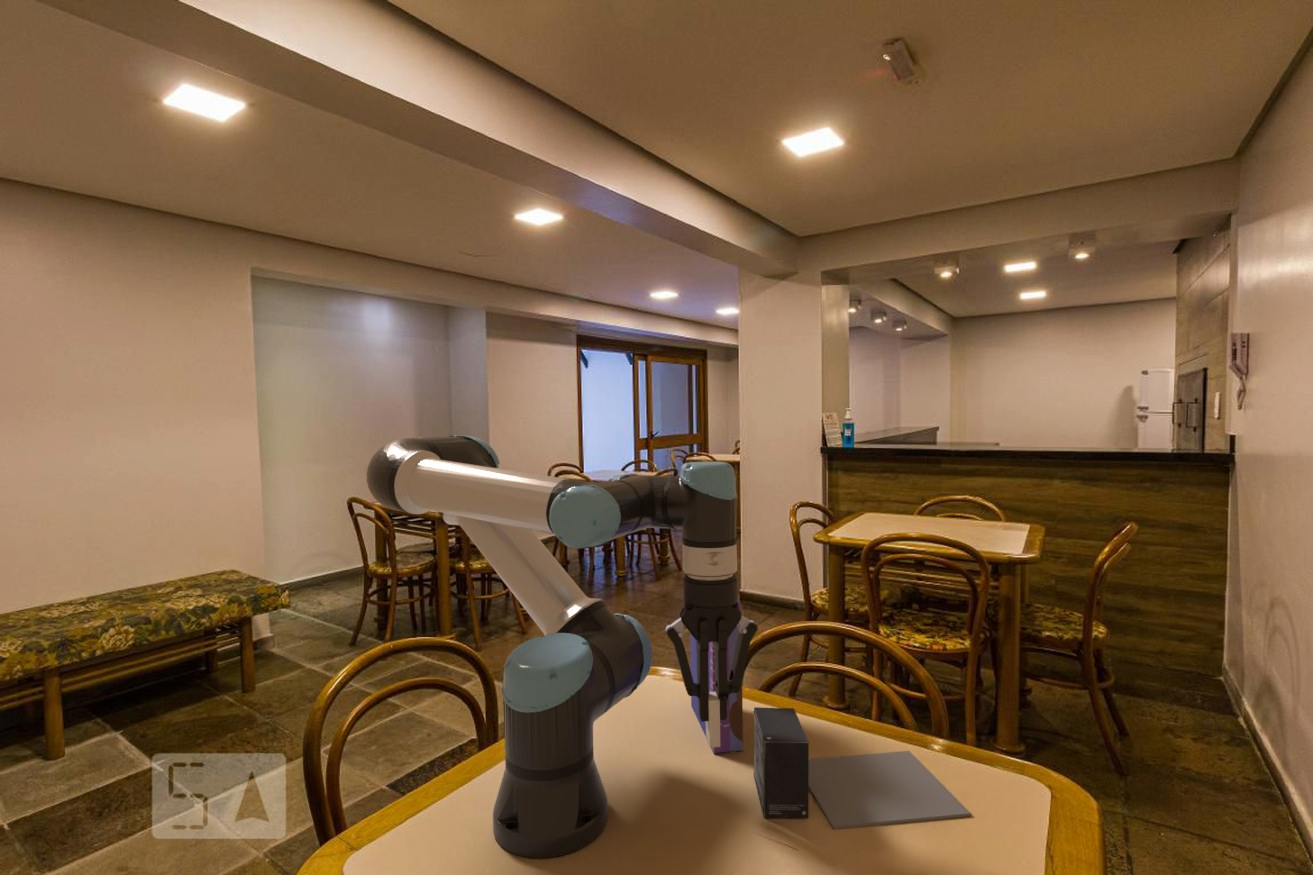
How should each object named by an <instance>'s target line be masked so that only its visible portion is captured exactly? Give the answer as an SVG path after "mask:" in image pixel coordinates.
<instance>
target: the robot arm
mask: <svg viewBox="0 0 1313 875" xmlns="http://www.w3.org/2000/svg"><path fill="white" fill-rule="evenodd" d="M500 463H501V462H500V460H499V458H498V455H497V454H496V451H495V450H494V448H492V447H491V445H490V444H489V443H487V442H486V441H485V440H483V439H481V438H478V437H476V436H469V435H463V434H462V435H461V434H453V435H449V436H437V437H435V436H434V437H433V436H432V437H405V438H398V439H395V440H392V441H390V442H388V443H386V444H384V445H382V446H381V447H380V448H379V449H378V450H376V452H375V453H374V455H373V456H372V457H371V459H370V461H369V463H368V466H367V468H366V469H367V470H366V483H367V488H368V490H369V492H370V494H371V495H372V497H373V498H374V499H375V501H377V502H378V503H379V504H380V505H382V506H383V507H385V508H387V509H390V510H393V511H398V512H402V513H407V514H408V513H409V514H413V515H421V514H425V513H426V514H427V513H428V512H429V511H432V512H437V513H438V515H439V516H440V517H441V518H442V520H443V521H444V522H445V523H446V524H447V525H451V526H459V527H460V528H461V529H462V530H463V531H464V532H465V534H466V535H467V537H469V540H471V541H472V543H473V544H474V545H475V547H476V548H477V549H478V551H479V552H480V553H481V555H482V556H483V557H484V558H485V559H486V561H487V562H488V564H489V565H490V566H491V567H492V568H493V570H494V571H495V572H496V574H497V575H498V577H499V578H500V579H501V581H502V582H503V583H504V584H505V585H506V586H507V588H508V589H509V591H510V592H511V593H512V594H513V596H514V597H515V598H516V600H517V601H518V602H519V604H520V605H521V606H522V607H523V608H524V610H525V611H526V613H527V614H528V615H529V616H530V618H531V619H532V620H533V622H534V623H535V624H536V625H537V627H538V628H539V629H540V630H541V631H542V632H541V633H543V635H544V636H536V637H532V638H530V639H528V640H526V641H524V642H522V643H521V644H519V645H518V646H517V647H515V648H514V649H513V650H512V651H511V652H510V654H509V655H508V656H507V658H506V660H505V663H504V667H503V680H502V684H501V685H502V686H501V689H502V690H501V692H502V693H501V694H502V697H503V699H502V701H503V703H502V704H503V725H504V726H503V728H504V729H503V730H504V754H505V759H504V760H505V762H504V763H505V766H504V767H505V769H504V771H503V775H502V779H501V782H500V786H499V789H498V792H497V796H496V799H495V802H494V806H493V810H492V828H493V829H492V831H493V835H494V838H495V840H496V841H497V843H498V844H499V845H500V846H501V847H502V848H503V849H505V850H506V851H508V852H509V853H511V854H514V855H517V856H520V857H524V858H525V857H526V858H535V859H537V858H538V859H540V858H541V859H543V858H544V859H547V858H554V857H560V856H563V855H567V854H570V853H573V852H576V851H578V850H580V849H582V848H584V847H586V846H587V845H589V844H590V843H592V842H593V841H594V840H596V839H597V837H599V836H600V835H601V833H602V832H603V830H604V829H605V827H606V825H607V822H608V818H609V814H608V813H609V812H608V810H609V809H608V807H609V806H608V805H609V804H608V796H607V792H606V789H605V787H604V784H603V783H604V782H603V780H602V778H601V776H600V773H599V769H598V767H597V764H596V762H595V758H594V723H595V722H596V721H597V720H598V719H599V718H601V717H602V716H603V715H605V714H606V713H607V712H608V711H609V710H611V708H613V707H614V706H615V705H617V704H618V703H619V702H621V701H622V700H624V699H625V698H628V697H630V696H631V695H632V694H633V693H634V691H635V690H637V689H638V688H639V686H641V684H642V683H643V682H644V681H645V680H646V678H647V676H648V675H649V672H650V669H651V667H652V666H651V665H652V652H653V650H652V649H653V648H652V645H651V644H652V643H651V640H650V638H649V635H648V633H647V631H646V630H645V628H644V627H643V625H642V624H641V623H640V622H639V621H638V620H637V619H636V618H635V617H633V616H632V615H631V616H630V615H628V614H622V613H617V612H616V613H614V612H613V611H612V609H610V607H609V606H608V605H607V604H606V602H605V601H604V600H603V599H602V598H594V597H593V598H591V597H588V596H587V595H586V594H585V592H583V590H582V589H581V588H580V587H579V586H578V585H577V583H576V582H575V581H574V580H573V578H572V577H571V576H570V575H569V573H568V572H567V571H566V570H565V568H563V566H562V565H561V564H560V562H559V561H558V560H557V559H556V558H555V556H554V555H553V554H552V553H551V551H550V550H549V549H548V548H547V547H546V546H545V544H544V543H543V542H542V541H541V539H540V538H539V537H538V536H537V535H536V533H535V532H539V533H543V534H547V535H548V534H550V535H553V536H555V537H556V538H557V540H559V541H560V542H561V543H562V544H564V546H566V547H568V548H572V549H584V548H595V547H598V546H601V545H603V544H605V543H607V542H610V541H612V540H614V539H618V538H621V537H623V536H627V535H630V534H632V533H636V532H639V531H641V530H644V529H645V530H646V529H652V528H653V529H669V530H670V529H671V530H681V538H682V539H681V540H682V543H681V544H682V571H683V572H684V573H685V575H684V576H683V578H682V592H683V594H682V595H683V596H682V598H683V599H682V600H683V603H682V604H683V606H682V609H681V611H680V613H679V618H677V619H676V620H675V621H673V622H672V623H670V622H668V623H666V624H665V626H664V630H665V632H666V634H667V637H668V639H669V640H670V641H671V642H672V643H673V644H672V645H673V647H674V651H675V655H676V658H677V662H678V667H679V671H680V673H681V678H682V680H683V684H684V688H685V691H686V693H687V695H688V696H689V697H691V696H696V697H698V714H699V717H700V719H701V721H702V722H703V721H706V736H705V739H706V741H707V744H708V746H709V748H710V749H711V747H720V720H726V718H727V700H728V698H729V696H728V695H729V694H731V693H733V692H734V693H738V692H739V691H740V687H741V683H742V684H743V677H744V673H745V668H746V664H747V660H748V655H749V651H750V647H751V641H752V640H753V638H754V636H755V635H756V633H757V631H758V629H759V628H758V625H757V624H756V622H755V621H754V620H753V619H751V618H747V617H745V616H743V614H742V613H743V612H742V610H741V611H740V609H739V607H738V602H739V593H738V592H739V591H738V586H739V584H738V581H739V580H738V576H737V575H736V572H737V571H738V553H737V552H738V551H737V543H738V541H737V540H738V539H737V499H738V493H737V491H736V490H737V488H736V475H735V474H736V472H735V469H734V467H733V465H732V464H730V463H728V462H725V461H692V462H691V461H690V462H685V463H683V464H682V466H681V467H680V472H679V473H680V474H679V475H672V476H671V475H646V474H637V473H629V474H617V475H613V476H611V477H610V478H609V479H608V481H603V482H602V481H601V482H590V481H584V480H577V479H570V478H565V477H564V478H563V477H560V476H559V477H558V476H557V477H556V476H551V475H544V474H538V473H531V472H524V471H517V470H511V469H505V468H499V465H500ZM738 623H739V625H738V630H739V633H738V637H737V641H736V646H735V650H734V655H733V660H732V664H731V669H730V673H729V678H728V681H727V639H728V638H729V636H730V635H731V633H732V632H733V630H734V629H735V627H736V626H737V624H738ZM684 627H685V628H686V629H687V630H688V632H689V634H690V633H691V634H692V636H693V637H694V638H695V639H696V646H697V684H696V683H694V682H693V678H692V674H691V666H690V663H689V661H688V660H689V659H688V656H687V652H686V648H685V645H684V642H683V640H682V638H683V636H684V634H685V632H684ZM712 641H714V646H715V688H716V692H709V668H708V650H709V642H712Z"/></svg>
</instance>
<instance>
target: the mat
mask: <svg viewBox="0 0 1313 875" xmlns="http://www.w3.org/2000/svg"><path fill="white" fill-rule="evenodd" d="M809 791H810V793H811V796H813V798H814V800H815V801H816V803H817V805H818V806H819V808H820V809H821V812H822V813H823V814H824V816H825V818H826V819H827V821H828V822H829V824H830V827H831V828H832V829H833V830H839V829H849V828H858V827H869V826H870V827H871V826H879V825H880V826H881V825H889V824H893V825H894V824H901V823H902V824H903V823H912V822H913V823H914V822H923V821H933V820H944V819H956V818H966V817H972V815H971V812H970V811H969V810H968V809H967V808H966V806H964V804H962V803H961V802H960V801H959V800H958V798H956V797H955V796H954V795H953V793H952V792H950V790H949V789H948V788H946V787H945V785H943V783H942V782H940V780H938V778H937V777H936V776H935V775H934V774H933V773H932V772H930V770H929V769H928V768H927V767H926V766H925V765H924V764H923V763H922V762H921V761H920V760H919V758H917V757H916V756H915V755H914V754H913V753H912V752H911V750H904V751H892V752H879V753H878V752H877V753H864V754H854V755H844V756H843V755H842V756H829V757H819V758H818V757H816V758H809Z"/></svg>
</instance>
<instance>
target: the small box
mask: <svg viewBox="0 0 1313 875" xmlns="http://www.w3.org/2000/svg"><path fill="white" fill-rule="evenodd" d="M753 716H754V717H753V718H754V720H753V721H754V735H753V736H754V738H753V740H754V744H753V745H754V750H753V751H754V752H753V753H754V754H753V755H754V756H753V759H754V760H753V778H754V782H755V783H754V784H755V788H756V790H757V796H758V801H759V804H760V808H761V812H762V817H763V818H765V819H766V818H767V819H768V818H771V819H773V818H774V819H775V818H781V819H783V818H784V819H787V818H789V819H792V818H793V819H806V818H807V819H808V818H809V799H810V798H809V797H810V796H809V794H810V793H809V791H810V790H809V759H810V757H809V756H810V755H809V753H810V752H809V751H810V750H809V749H810V748H809V747H810V746H809V745H810V743H809V740H808V738H807V735H806V733H805V731H804V728H803V727H802V724H801V722H800V720H799V719H800V718H799V716H798V714H797V712H796V710H795V708H791V707H788V708H787V707H757V706H756V707H753Z"/></svg>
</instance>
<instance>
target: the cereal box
mask: <svg viewBox="0 0 1313 875" xmlns="http://www.w3.org/2000/svg"><path fill="white" fill-rule="evenodd" d="M738 607H739V609H740V611H741V612H742V603H740V602H739V601H738ZM738 625H739V623H738V624H737V626H736V627H735V629H734V630H733V632H732V633H731V635H730V636H729V638H728V639H727V681H728V678H729V673H730V669H731V664H732V660H733V655H734V650H735V646H736V641H737V637H738V633H739V630H738ZM689 637H690V638H689V640H690V641H689V642H690V646H689V647H690V648H689V649H690V670H691V674H692V678H693V682H694V683H696V684H697V646H696V639H695V638H694V637H693V636H692V634H691V633H690V632H689ZM708 668H709V692H716V688H715V646H714V641H712V642H709V650H708ZM728 696H729V698H728V700H727V718H726V720H720V747H711V748H710V750H712V753H713V755H724V754H733V753H743V752H744V724H743V720H744V719H743V718H744V717H743V716H744V714H743V710H744V709H743V707H744V706H743V682H742V683H741V687H740V691H739V692H738V693H734V692H733V693H731V694H729V695H728ZM690 699H691V700H690V701H691V702H690V705H691V709H692V710H693V712H694V715H695V717H696V719H697V721H698V723H699V725H700V728H701V730H702V732H703V734H704V736H705V737H706V721H703V722H702V721H701V719H700V717H699V714H698V697H696V696H690Z"/></svg>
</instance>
